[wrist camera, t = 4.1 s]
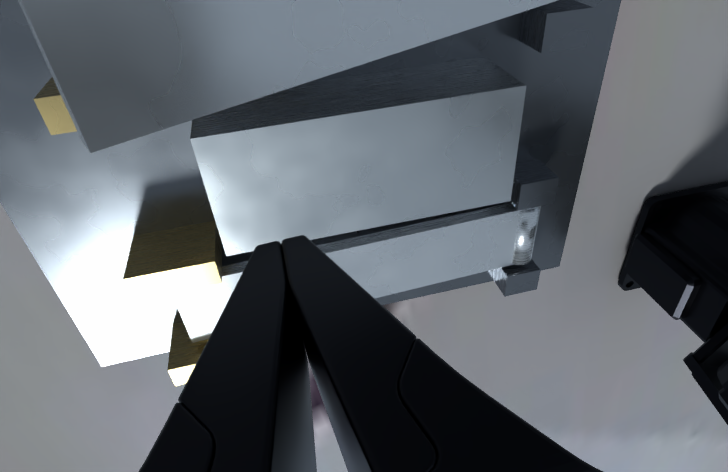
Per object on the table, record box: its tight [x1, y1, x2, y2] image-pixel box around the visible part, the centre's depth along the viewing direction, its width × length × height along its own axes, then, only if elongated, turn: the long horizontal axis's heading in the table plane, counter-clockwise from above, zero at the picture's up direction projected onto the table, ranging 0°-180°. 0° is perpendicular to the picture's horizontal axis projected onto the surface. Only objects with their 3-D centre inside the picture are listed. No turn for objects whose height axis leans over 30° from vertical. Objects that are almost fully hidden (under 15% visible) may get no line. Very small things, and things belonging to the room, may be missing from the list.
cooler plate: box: [0, 0, 621, 386], centre depth 17 cm, size 22×19×5 cm
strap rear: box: [172, 203, 541, 343], centre depth 20 cm, size 15×3×1 cm, turn 94°
